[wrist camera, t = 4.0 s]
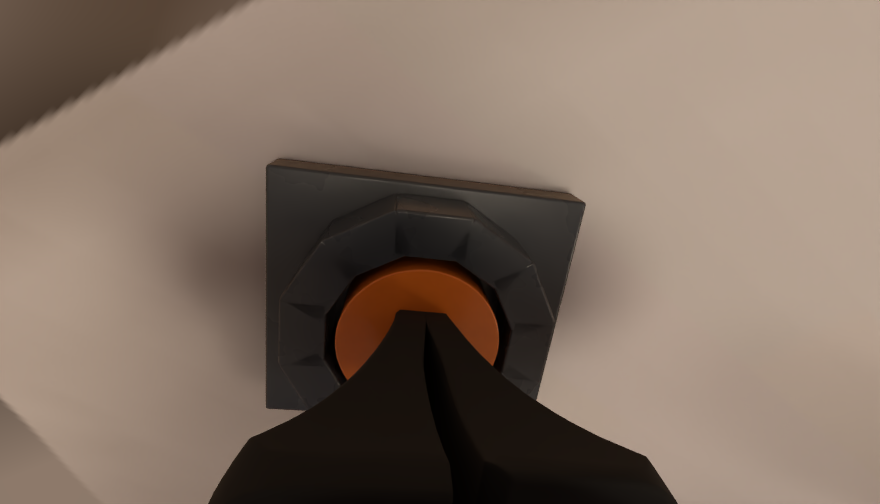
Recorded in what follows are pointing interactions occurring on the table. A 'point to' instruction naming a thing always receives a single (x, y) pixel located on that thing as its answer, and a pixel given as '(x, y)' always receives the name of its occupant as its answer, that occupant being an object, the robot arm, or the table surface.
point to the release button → (412, 307)
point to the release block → (412, 235)
